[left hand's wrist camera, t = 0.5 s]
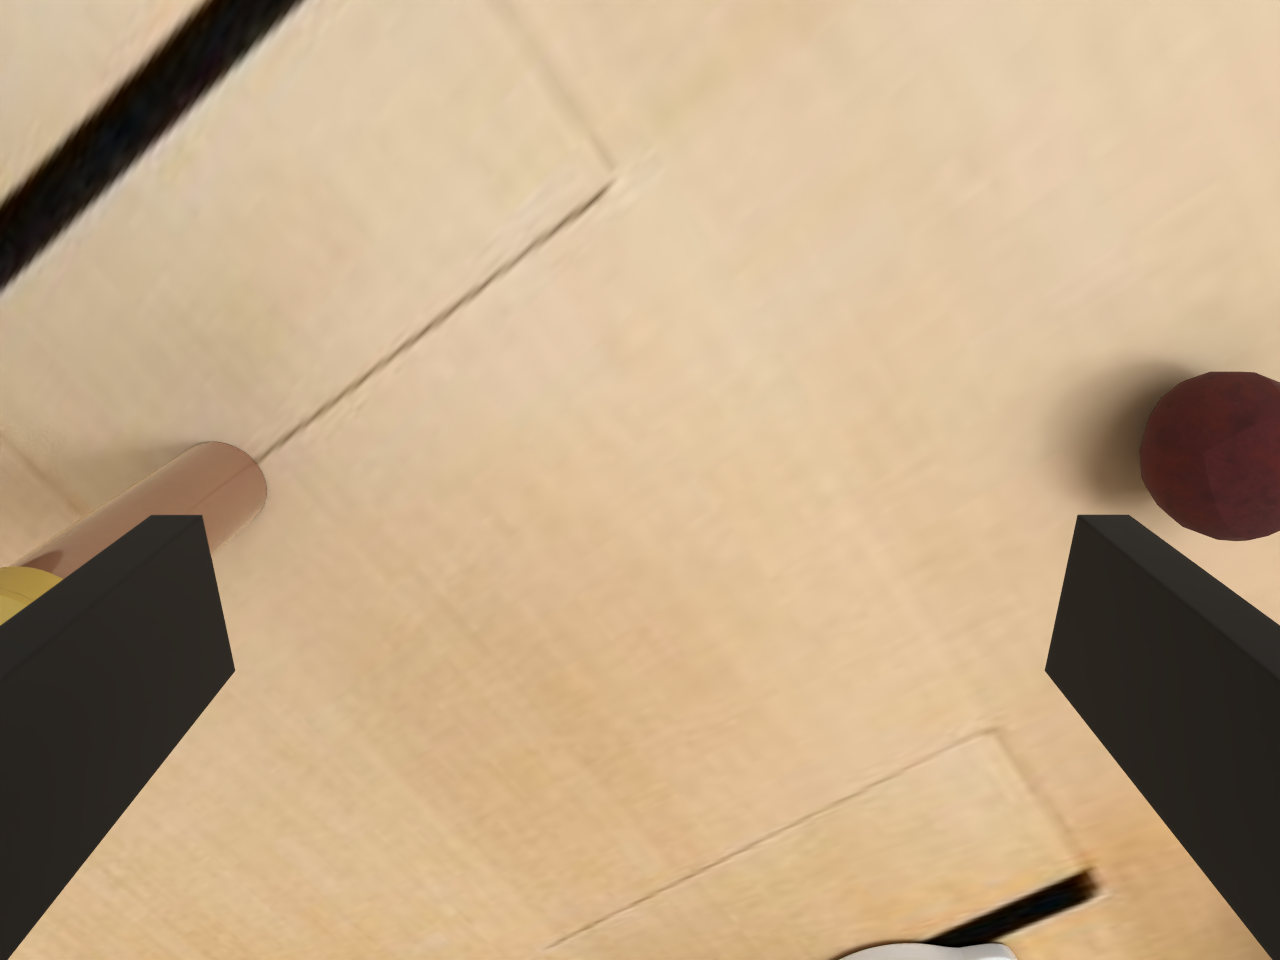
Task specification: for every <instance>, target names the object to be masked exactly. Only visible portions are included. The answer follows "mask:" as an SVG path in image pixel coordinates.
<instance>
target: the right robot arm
mask: <svg viewBox="0 0 1280 960" xmlns="http://www.w3.org/2000/svg"><path fill="white" fill-rule="evenodd" d="M839 960H1018V959H1017V958H1016V956H1015V955H1014V953H1013V952H1012V950H1011V949H1010V948H1009V947H1007V946H1005V945H1003V944H995V943H993V944H981V945H974V946H967V947H961V948H952V947H943V946H936V945H929V944H919V943H901V944H890V945H883V946H877V947H873V948H869V949H865V950H862V951H859V952H856V953H853V954H851V955H848V956H846V957H844V958H841V959H839Z"/></svg>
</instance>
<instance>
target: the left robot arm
mask: <svg viewBox="0 0 1280 960" xmlns="http://www.w3.org/2000/svg"><path fill="white" fill-rule="evenodd" d="M234 671H235V668H234V663H233V658H232V653H231V649H230V644H229V639H228V634H227V630H226V625H225V620H224V615H223V611H222V606H221V601H220V596H219V592H218V587H217V582H216V577H215V573H214V568H213V563H212V558H211V554H210V549H209V544H208V539H207V535H206V530H205V525H204V520H203V516H202V515H150V516H149V517H148V518H146V519H145V520H144V521H142V522H141V523H139V524H138V525H137V526H135V527H134V528H133V529H131V530H130V531H129V532H127V533H126V534H124V535H123V536H122V537H120V538H119V539H118V540H116V541H115V542H114V543H112V544H111V545H109V546H108V547H107V548H105V549H104V550H103V551H101V552H100V553H99V554H97V555H96V556H94V557H93V558H92V559H90V560H89V561H88V562H86V563H85V564H84V565H82V566H81V567H79V568H78V569H77V570H75V571H74V572H73V573H71V574H70V575H69V576H67V577H66V578H64V579H63V580H62V581H60V582H59V583H58V584H56V585H55V586H54V587H52V588H51V589H49V590H48V591H47V592H45V593H44V594H43V595H41V596H40V597H39V598H37V599H36V600H34V601H33V602H32V603H30V604H29V605H28V606H26V607H25V608H24V609H22V610H21V611H19V612H18V613H17V614H15V615H14V616H13V617H11V618H10V619H9V620H7V621H6V622H4V623H3V624H2V625H0V960H8V958H9V957H10V956H11V955H12V953H13V952H14V951H15V950H16V948H17V947H18V946H19V944H20V943H21V942H22V941H23V939H24V938H25V937H26V936H27V934H28V933H29V932H30V931H31V929H32V928H33V927H34V925H35V924H36V923H37V922H38V920H39V919H40V918H41V917H42V915H43V914H44V913H45V911H46V910H47V909H48V908H49V906H50V905H51V904H52V903H53V901H54V900H55V899H56V897H57V896H58V895H59V894H60V892H61V891H62V890H63V889H64V887H65V886H66V885H67V884H68V882H69V881H70V880H71V878H72V877H73V876H74V875H75V873H76V872H77V871H78V870H79V868H80V867H81V866H82V864H83V863H84V862H85V861H86V859H87V858H88V857H89V856H90V854H91V853H92V852H93V851H94V849H95V848H96V847H97V845H98V844H99V843H100V842H101V840H102V839H103V838H104V837H105V835H106V834H107V833H108V831H109V830H110V829H111V828H112V826H113V825H114V824H115V823H116V821H117V820H118V819H119V817H120V816H121V815H122V814H123V812H124V811H125V810H126V809H127V807H128V806H129V805H130V804H131V802H132V801H133V800H134V798H135V797H136V796H137V795H138V793H139V792H140V791H141V790H142V788H143V787H144V786H145V784H146V783H147V782H148V781H149V779H150V778H151V777H152V776H153V774H154V773H155V772H156V771H157V769H158V768H159V767H160V765H161V764H162V763H163V762H164V760H165V759H166V758H167V757H168V755H169V754H170V753H171V751H172V750H173V749H174V748H175V746H176V745H177V744H178V743H179V741H180V740H181V739H182V737H183V736H184V735H185V734H186V732H187V731H188V730H189V729H190V727H191V726H192V725H193V724H194V722H195V721H196V720H197V718H198V717H199V716H200V715H201V713H202V712H203V711H204V710H205V708H206V707H207V706H208V704H209V703H210V702H211V701H212V699H213V698H214V697H215V696H216V694H217V693H218V692H219V691H220V689H221V688H222V687H223V685H224V684H225V683H226V682H227V680H228V679H229V678H230V677H231V675H232V674H233V673H234ZM1045 671H1046V673H1047V674H1048V675H1049V677H1050V678H1051V679H1052V680H1053V682H1054V683H1055V684H1056V685H1057V687H1058V688H1059V689H1060V691H1061V692H1062V693H1063V694H1064V696H1065V697H1066V698H1067V699H1068V701H1069V702H1070V703H1071V704H1072V706H1073V707H1074V708H1075V710H1076V711H1077V712H1078V713H1079V715H1080V716H1081V717H1082V718H1083V720H1084V721H1085V722H1086V724H1087V725H1088V726H1089V727H1090V729H1091V730H1092V731H1093V732H1094V734H1095V735H1096V736H1097V737H1098V739H1099V740H1100V741H1101V743H1102V744H1103V745H1104V746H1105V748H1106V749H1107V750H1108V751H1109V753H1110V754H1111V755H1112V757H1113V758H1114V759H1115V760H1116V762H1117V763H1118V764H1119V765H1120V767H1121V768H1122V769H1123V771H1124V772H1125V773H1126V774H1127V776H1128V777H1129V778H1130V779H1131V781H1132V782H1133V783H1134V784H1135V786H1136V787H1137V788H1138V790H1139V791H1140V792H1141V793H1142V795H1143V796H1144V797H1145V798H1146V800H1147V801H1148V802H1149V804H1150V805H1151V806H1152V807H1153V809H1154V810H1155V811H1156V812H1157V814H1158V815H1159V816H1160V817H1161V819H1162V820H1163V821H1164V823H1165V824H1166V825H1167V826H1168V828H1169V829H1170V830H1171V831H1172V833H1173V834H1174V835H1175V837H1176V838H1177V839H1178V840H1179V842H1180V843H1181V844H1182V845H1183V847H1184V848H1185V849H1186V851H1187V852H1188V853H1189V854H1190V856H1191V857H1192V858H1193V859H1194V861H1195V862H1196V863H1197V864H1198V866H1199V867H1200V868H1201V870H1202V871H1203V872H1204V873H1205V875H1206V876H1207V877H1208V878H1209V880H1210V881H1211V882H1212V884H1213V885H1214V886H1215V887H1216V889H1217V890H1218V891H1219V892H1220V894H1221V895H1222V896H1223V898H1224V899H1225V900H1226V901H1227V903H1228V904H1229V905H1230V906H1231V908H1232V909H1233V910H1234V911H1235V913H1236V914H1237V915H1238V917H1239V918H1240V919H1241V920H1242V922H1243V923H1244V924H1245V925H1246V927H1247V928H1248V929H1249V931H1250V932H1251V933H1252V934H1253V936H1254V937H1255V938H1256V939H1257V941H1258V942H1259V943H1260V944H1261V946H1262V947H1263V948H1264V950H1265V951H1266V952H1267V953H1268V955H1269V956H1270V957H1271V958H1272V960H1280V625H1278V624H1277V623H1276V622H1274V621H1273V620H1271V619H1270V618H1269V617H1267V616H1266V615H1265V614H1263V613H1262V612H1261V611H1259V610H1258V609H1256V608H1255V607H1254V606H1252V605H1251V604H1250V603H1248V602H1247V601H1246V600H1244V599H1243V598H1241V597H1240V596H1239V595H1237V594H1236V593H1235V592H1233V591H1232V590H1231V589H1229V588H1228V587H1226V586H1225V585H1224V584H1222V583H1221V582H1220V581H1218V580H1217V579H1216V578H1214V577H1213V576H1211V575H1210V574H1209V573H1207V572H1206V571H1205V570H1203V569H1202V568H1201V567H1199V566H1198V565H1196V564H1195V563H1194V562H1192V561H1191V560H1190V559H1188V558H1187V557H1186V556H1184V555H1183V554H1181V553H1180V552H1179V551H1177V550H1176V549H1175V548H1173V547H1172V546H1171V545H1169V544H1168V543H1166V542H1165V541H1164V540H1162V539H1161V538H1160V537H1158V536H1157V535H1156V534H1154V533H1153V532H1151V531H1150V530H1149V529H1147V528H1146V527H1145V526H1143V525H1142V524H1141V523H1139V522H1138V521H1136V520H1135V519H1134V518H1132V517H1131V516H1130V515H1078V516H1077V520H1076V525H1075V530H1074V535H1073V539H1072V544H1071V549H1070V554H1069V558H1068V563H1067V568H1066V573H1065V577H1064V582H1063V587H1062V592H1061V596H1060V601H1059V606H1058V611H1057V615H1056V620H1055V625H1054V630H1053V634H1052V639H1051V644H1050V649H1049V653H1048V658H1047V663H1046V667H1045Z"/></svg>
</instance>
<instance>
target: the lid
mask: <svg viewBox="0 0 1280 960" xmlns="http://www.w3.org/2000/svg"><path fill="white" fill-rule="evenodd" d="M62 580H63V579H62V578H60V577H58V576H56V575H54V574H52V573H49V572H46V571H43V570H39V569H35V568H29V567H16V566H12V567H3V568H0V625H2V624H3V623H4V622H6V621H7V620H9V619H10V618H11V617H13V616H14V615H15V614H17V613H18V612H19V611H21V610H22V609H24V608H25V607H26V606H28V605H29V604H30V603H32V602H33V601H34V600H36V599H37V598H39V597H40V596H41V595H43V594H44V593H45V592H47V591H48V590H49V589H51V588H52V587H54V586H55V585H56V584H58V583H59V582H60V581H62Z"/></svg>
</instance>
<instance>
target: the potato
mask: <svg viewBox="0 0 1280 960" xmlns="http://www.w3.org/2000/svg"><path fill="white" fill-rule="evenodd" d="M1140 463H1141V477H1142V479H1143V481H1144V483H1145V486H1146V488H1147V489H1148V491H1149V492H1150V494H1151V495H1152V497H1153V499H1154V500H1155V502H1156V503H1157V505H1158V506H1159V507H1160V508H1162V509H1163V510H1164V511H1165V512H1166V513H1167V514H1168V515H1169V516H1170V517H1172V518H1173V519H1174V520H1175V521H1176V522H1178V523H1179V524H1180V525H1181V526H1182V527H1185V528H1188V529H1190V530H1193V531H1195V532H1198V533H1201V534H1204V535H1206V536H1209V537H1212V538H1215V539H1217V540H1229V541H1246V540H1252V539H1256V538H1261V537H1265V536H1269V535H1271V534H1273V533H1276V532H1278V531H1280V382H1277V381H1275V380H1272V379H1270V378H1267V377H1265V376H1262V375H1260V374H1257V373H1254V372H1208V373H1206V374H1203V375H1200V376H1197V377H1194V378H1191V379H1189V380H1186V381H1183V382H1181V383H1180V384H1178V385H1177V386H1176V387H1174V388H1173V389H1172V390H1171V391H1169V392H1168V393H1167V394H1166V395H1165V396H1163V397H1162V398H1161V400H1160V401H1159V403H1158V404H1157V406H1156V407H1155V409H1154V410H1153V412H1152V413H1151V415H1150V416H1149V419H1148V423H1147V426H1146V429H1145V433H1144V436H1143V440H1142V443H1141V447H1140Z"/></svg>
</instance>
